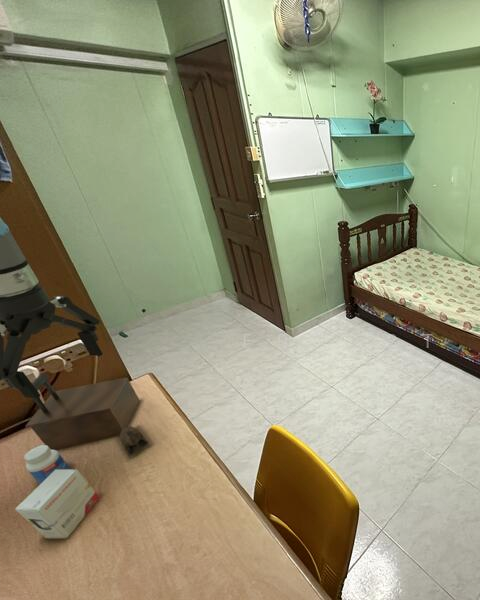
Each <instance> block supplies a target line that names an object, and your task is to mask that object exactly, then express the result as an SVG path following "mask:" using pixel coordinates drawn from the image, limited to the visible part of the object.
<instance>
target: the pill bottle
mask: <svg viewBox="0 0 480 600" xmlns="http://www.w3.org/2000/svg"><path fill="white" fill-rule="evenodd" d="M23 458H24V461H25V462H26V465H25V470H27V472H28V473H29V474H30V475H31V477H32V478H33V479H34V480H35V481H36V483H38V484H39V485H40V484H41V483H42V482H43V481H44V480H45V479H46V478H47V477H48V476H49V475H50V474H51V473H52V472H53V471H54V470H55V469H71V467H70V465H68V463H67V462H66V460H65V459H64V457H62V455H61V454H60V453H59V451H58V450H57V449H56V450H51V449H50V448H49V447H48V446H47V445H45V444H40V445H37V446H35V447H33V448H32V449H30V450H28V451H27V452H26V453H25V454H24V456H23Z"/></svg>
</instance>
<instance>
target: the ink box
mask: <svg viewBox="0 0 480 600" xmlns="http://www.w3.org/2000/svg"><path fill="white" fill-rule="evenodd" d="M99 499H100V495H98V493H97V492H96V491H95V490H94V488H93V487H92V486H91V484H90V483H89V482H88V480H87V479H86V478H85V477H84V476H83V475H82V473H81V472H80V471H79V470H78V469H76V468H75V469H73V468H70V469H55V470H54V471H53V472H52V473H51V474H50V475H49V476H48V477H47V478H46V479H45V480H44V481H43V482H42V483H41V484H39V485H38V486H37V487H36V488H35V489H34V490H33V491H31V493H29V494H28V495H27V497H25V499H23V500H22V501H21V502H20V503H19V504H18V505H17V506H16V507H15V511H16V512H17V513H18V514H20V515H21V516H22V517H23V518H24V519H25V520H26V521H27V522H28V523H29V524H30V525H31V526H32V527H33V528H34V529H36V531H37V532H39V534H40V535H42V536H43V537H44V538H45V539H67V538H68V537H69V536H70V535H71V534H72V532H73V531H74V530H75V529H76V527H78V526H79V524H80V522H81V521H82V520H83V519H84V518H85V517H86V516H87V514H88V512H89V511H90V510H91V509H92V507H93V506H94V505H95V504H96V503H97V501H98V500H99Z"/></svg>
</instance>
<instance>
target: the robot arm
mask: <svg viewBox="0 0 480 600" xmlns="http://www.w3.org/2000/svg"><path fill="white" fill-rule="evenodd" d="M72 301H73V300H71V299H70V297H68V296H63V295H54V296H53V297H52V300H50V297H49V295H48V294H47V292H46V290H45V289H44V287H43V285H42V284H39V279H38V278H37V276H36V274H35V272H34V271H33V268H32V267H31V265H30V264H29V263H28V261H27V259H26V257H25V255H24V253H23V251H22V250H21V248H20V247H19V245H18V243H17V241H16V239H15V238H14V236H13V234H12V232H11V230H10V227H9V226H8V225H7V224H6V222H4V221H3V219H2V217H0V381H2V380H3V381H4V382H5V383H6V384H7V386H8V387H9V388H10V389H12V390H19V391H20V393H21V394H22V395H23V397H24V398H28V399H30V398H31V399H33V398H38V397H39V398H40V397H41V394H40V393H39V390H38V391H37V390H36V389H35V387H34V386H33V384H32V382H31V380H30V379H29V378H28V376H27V375H26V374H25V372H24V371H18V370H19V368H20V364H21V361H22V357H23V355H24V351H25V349H26V345H27V343H28V342H29V341H30V340H31V337H32V335H36V334H39V333H40V332H41V331H42V330H45V329H49V328H50V327H52V324H56V325H60V326H64V327H67V328H72V329H75V330H79V331H78V332H77V333H76V334H77V336H78V337H79V338H80V341H81V343H82V344H83V346H84V347H85V350H86V351H87V353H88V354H89V356H93V357H94V356H95V357H101V356H102V355H103V354H104V353H103V351H102V349H101V348H100V346H99V344H98V341H99V337H98V336H97V334H96V331H97V329H98V328H97V326H96V325H99V324H100V322H101V321H100V319H99V318H97V317H95V316H93V315H91V314H90V313H89V312H87V311H86V310H84V309H82V308H81V307H79V306H77V305H76V304H74V303H73V302H72ZM57 308H60V309H61V310H63V311H64V312H66V313H68V314H69V315H71V316H73V317H75V318H77V319H78V320H79V321H77V320H73V319H69V318H66V317H64V316H59V315H56V309H57ZM80 321H81V322H80ZM83 322H84V323H83ZM5 331H8V332H7V335H6V333H5ZM5 335H6V340H7V341H6V345H5V342H4V341H5V340H4V336H5ZM19 335H20V336H19Z"/></svg>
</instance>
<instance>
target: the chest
mask: <svg viewBox="0 0 480 600" xmlns="http://www.w3.org/2000/svg"><path fill="white" fill-rule="evenodd" d="M140 402H141V400H140V398H139V396H138V395H137V392H136V391H135V389H134V387H133V385H132V383H131V382H130V380H129V379H128V380H127V382H126V384H125V386H124V387H123V389H122V391H121V393H120V394H119V396H118V398H117V400H116V401H115V403H114V405H113V407H112V409H111V410H109V411H105V412H100V413H95V414H91V415H86V416H81V417H77V418H72V419H67V420H63V421H58V422H53V423H49V424H44V425H39V426H35V427H30V428H31V430H32V431H33V432H34V433H35V435H36V436H37V437H38V438H39V439H40V440H41V442H42V443H43V445H47V446H48V447H49V448H50V449H51V450H56V451H57V450H59V449H64V448H69V447H73V446H78V445H80V444H86V443H89V442H94V441H98V440H103V439H106V438H111V437H115V436H120V433H121V431H122V429H123V428H125V427H129V426H130V423H131V422H132V419H133V417H134V415H135V413H136V411H137V409H138V406H139V405H140Z"/></svg>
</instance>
